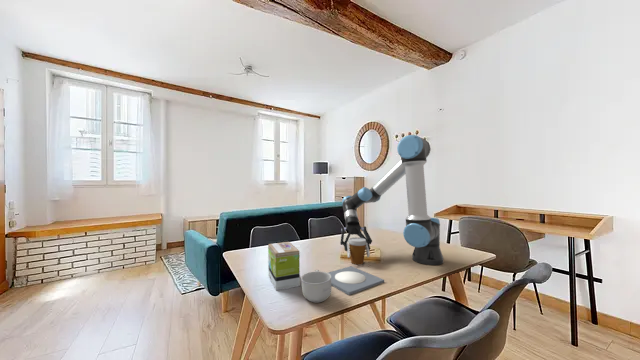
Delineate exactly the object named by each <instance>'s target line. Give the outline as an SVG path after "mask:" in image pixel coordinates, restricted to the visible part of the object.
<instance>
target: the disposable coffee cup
mask: <svg viewBox="0 0 640 360" xmlns="http://www.w3.org/2000/svg"><path fill="white" fill-rule="evenodd" d="M347 243H348V244H349V250H350V263H351V264H352V265H358V266H360V265H363V264H364V261H365V254H366V253H365V252H366V249H365V247H366V243H367V242H366V239H364V238H360V237H349V239H348V242H347Z"/></svg>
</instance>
